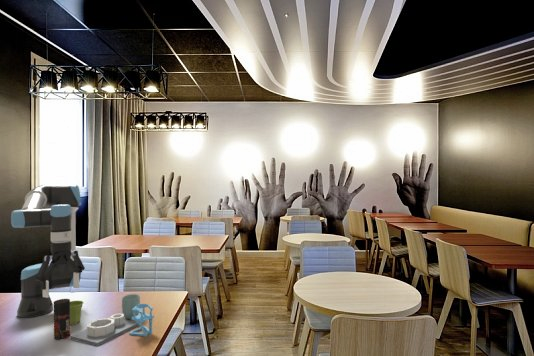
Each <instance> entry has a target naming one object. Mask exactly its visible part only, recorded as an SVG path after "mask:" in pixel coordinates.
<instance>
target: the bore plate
mask: <svg viewBox="0 0 534 356" xmlns="http://www.w3.org/2000/svg"><path fill="white" fill-rule="evenodd" d="M138 326H140V325H139V324H138V323H137V322H136V321H134V320H131V319H125V318H124V314H123V313H115V314H112V315H110V317H106V318H105V317H104V318H98V319H95V320H93V321H90V322H88V323H87V327H86V328H85V329H84V330H81V331H79V332H77V333H74V334H72V335H70V337H69V339H70V340H73V341H77V342H81V343H85V344H89V345H93V346H97V347H98V346H100V345H102V344H105V343H107V342H108V341H111V340H112V339H114V338H116V337H118V336H120V335H122V334H125V333H127V332H128V331H130V330H132V329H134V328H136V327H138Z"/></svg>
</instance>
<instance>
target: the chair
mask: <svg viewBox="0 0 534 356" xmlns="http://www.w3.org/2000/svg"><path fill="white" fill-rule="evenodd" d="M145 308H149V311H150V312H149V313H146V312H145ZM141 309H142V310H141ZM153 310H154V307H152V306H151V305H150V304H147V303H140V304H138V305H137V306H135V307H134V308H133V309H132V311H133V313H134V316H133V317H132V318H131V319H130V321H135V322H137V323H138V324H139V325H138V326H139V328H136V329H134V330H132V331H129V333H128V335H129V336H138V337H146V338H147V337H148V334H149V335H152V334H153V319H154V318H155V316H154V315H153V314H152V313H153ZM135 311H137V312H139V314H138V316H136V314H135ZM146 321H148V327H147V326H145V325H143V323H145V322H146ZM140 331H142V332H140Z"/></svg>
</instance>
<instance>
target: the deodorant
mask: <svg viewBox="0 0 534 356" xmlns="http://www.w3.org/2000/svg"><path fill="white" fill-rule="evenodd" d="M70 301H71V299H70V298H60V299H57V300H54V301H53V339H54V340H55V341H62V340H65V339H68V338H70V336H71V325H70Z"/></svg>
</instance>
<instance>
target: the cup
mask: <svg viewBox="0 0 534 356" xmlns="http://www.w3.org/2000/svg"><path fill="white" fill-rule="evenodd" d="M138 304H141V297H140V294H137V293H136V294H135V293H133V294H132V293H131V294H126V295H123V296H122V298H121V310H122V311H121V312H122V313H121V314H124V319H125V320H131V318H132V317H133V316H134V313H133V311H132V309H133V308H134V307H135V306H137V305H138ZM135 314H136V316H138V315H140V313H139V312H137V311H135Z"/></svg>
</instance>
